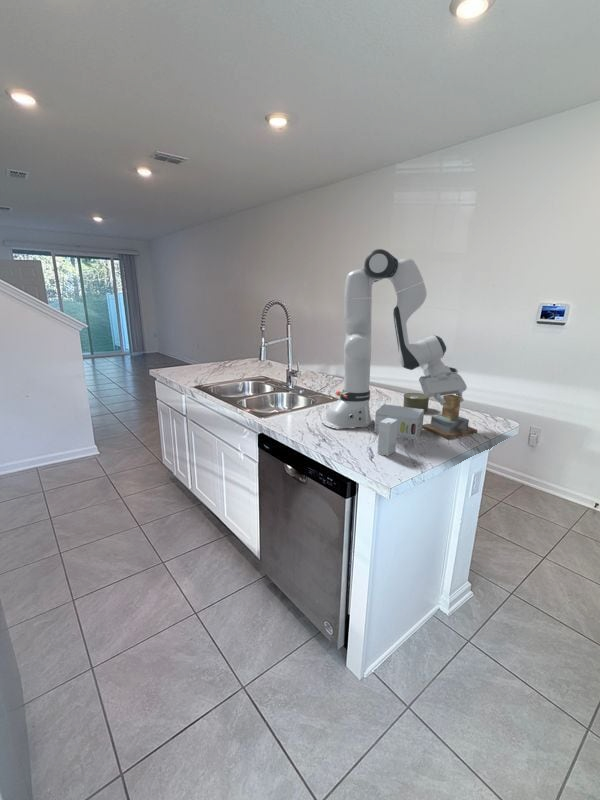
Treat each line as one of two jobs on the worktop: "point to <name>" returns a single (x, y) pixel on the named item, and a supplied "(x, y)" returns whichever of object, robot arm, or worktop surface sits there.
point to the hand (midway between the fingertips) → (452, 402)
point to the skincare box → (387, 436)
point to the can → (416, 401)
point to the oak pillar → (451, 407)
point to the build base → (448, 435)
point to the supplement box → (402, 420)
